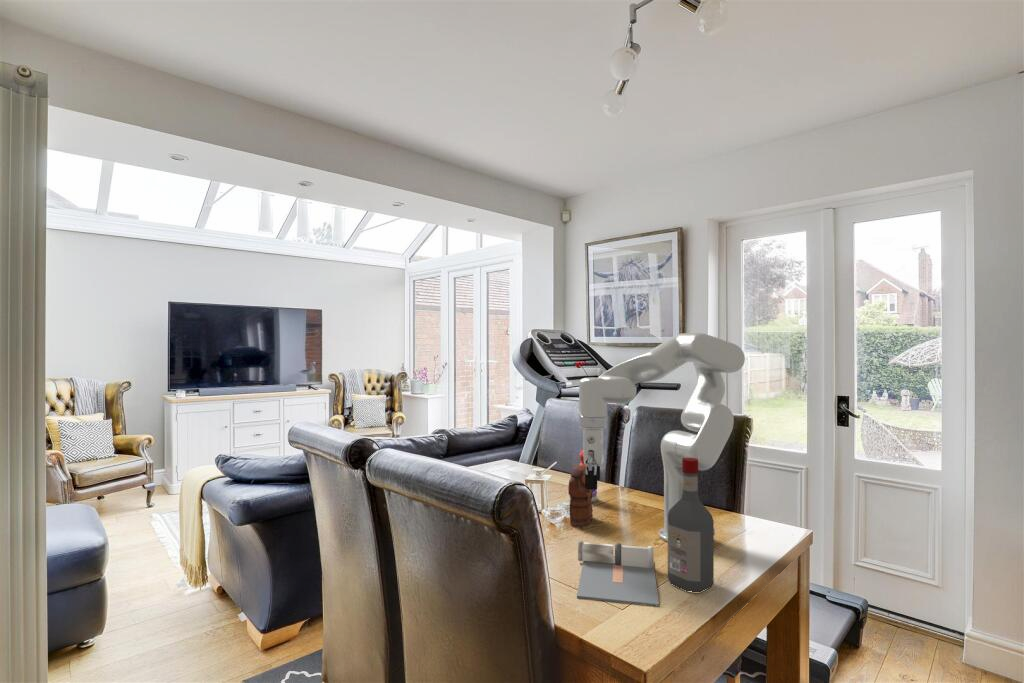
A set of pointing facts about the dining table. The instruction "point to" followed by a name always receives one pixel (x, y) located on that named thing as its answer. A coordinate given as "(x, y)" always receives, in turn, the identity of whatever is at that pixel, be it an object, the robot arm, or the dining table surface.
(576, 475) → the wooden figurine
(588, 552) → the hinged panel
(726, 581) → the dining table surface
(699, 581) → the liquor
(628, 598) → the board
